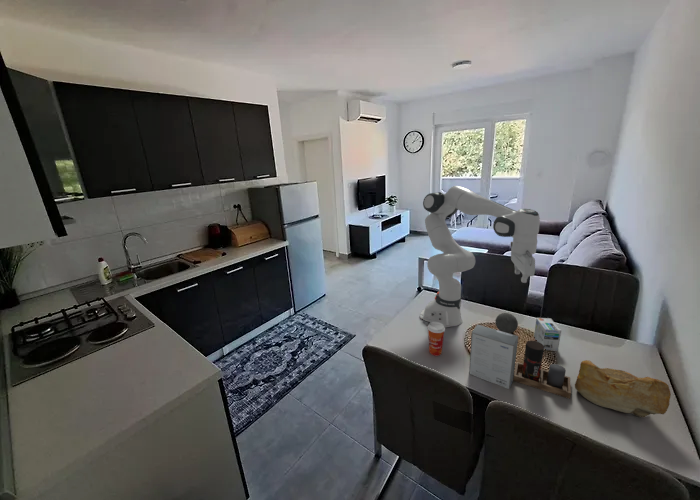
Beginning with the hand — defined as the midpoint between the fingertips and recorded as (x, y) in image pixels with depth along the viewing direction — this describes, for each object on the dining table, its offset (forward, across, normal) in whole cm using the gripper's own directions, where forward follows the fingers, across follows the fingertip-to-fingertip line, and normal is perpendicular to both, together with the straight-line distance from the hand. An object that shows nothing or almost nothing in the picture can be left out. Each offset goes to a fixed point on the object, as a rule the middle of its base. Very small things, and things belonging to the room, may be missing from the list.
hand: (520, 277), depth 128 cm
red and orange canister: (+34, -11, +35) cm, 50 cm away
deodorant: (+34, -22, -1) cm, 41 cm away
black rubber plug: (+34, -26, -8) cm, 43 cm away
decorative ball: (+34, +11, 0) cm, 36 cm away
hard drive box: (+34, -24, +14) cm, 44 cm away
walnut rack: (+34, -24, -4) cm, 42 cm away
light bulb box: (+34, +3, -15) cm, 38 cm away
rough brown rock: (+34, -29, -27) cm, 52 cm away
